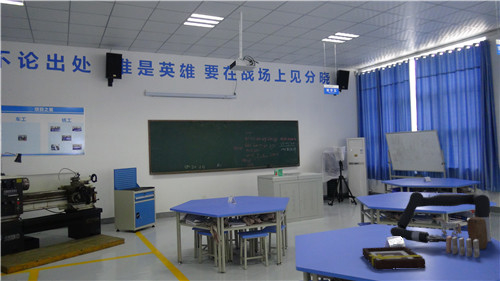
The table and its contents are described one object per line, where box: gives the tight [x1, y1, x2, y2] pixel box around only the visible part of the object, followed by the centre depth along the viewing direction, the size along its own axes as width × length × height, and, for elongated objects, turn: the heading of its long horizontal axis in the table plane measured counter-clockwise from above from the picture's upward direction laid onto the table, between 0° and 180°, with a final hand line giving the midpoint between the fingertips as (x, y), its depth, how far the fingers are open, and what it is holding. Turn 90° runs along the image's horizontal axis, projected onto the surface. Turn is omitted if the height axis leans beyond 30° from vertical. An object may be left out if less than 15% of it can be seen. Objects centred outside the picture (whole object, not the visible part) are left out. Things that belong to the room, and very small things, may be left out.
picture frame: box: [362, 245, 426, 270], centre depth 221 cm, size 28×7×30 cm
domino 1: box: [445, 235, 453, 254], centre depth 233 cm, size 2×5×10 cm, turn 133°
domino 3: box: [465, 238, 473, 257], centre depth 224 cm, size 2×5×10 cm, turn 132°
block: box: [466, 216, 489, 250], centre depth 240 cm, size 11×8×20 cm
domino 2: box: [452, 236, 459, 255], centre depth 230 cm, size 2×5×10 cm, turn 133°
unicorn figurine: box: [432, 216, 463, 237], centre depth 276 cm, size 7×20×13 cm, turn 70°
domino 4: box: [472, 239, 480, 259], centre depth 222 cm, size 2×5×10 cm, turn 133°
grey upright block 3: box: [458, 237, 466, 256], centre depth 227 cm, size 2×5×10 cm, turn 133°
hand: (447, 240), depth 234 cm, fingers closed
